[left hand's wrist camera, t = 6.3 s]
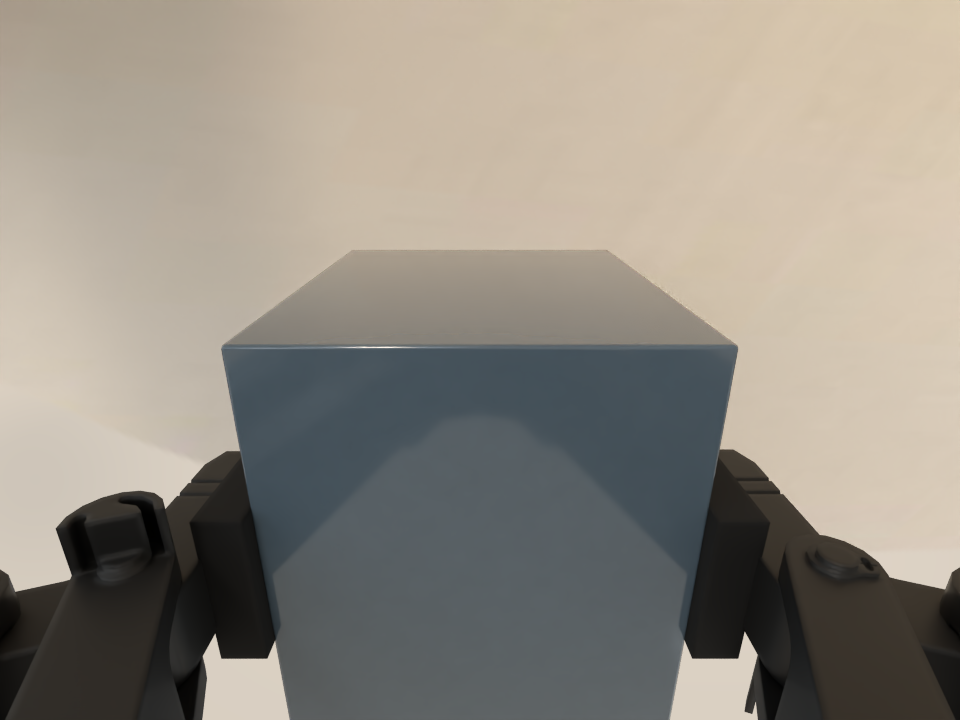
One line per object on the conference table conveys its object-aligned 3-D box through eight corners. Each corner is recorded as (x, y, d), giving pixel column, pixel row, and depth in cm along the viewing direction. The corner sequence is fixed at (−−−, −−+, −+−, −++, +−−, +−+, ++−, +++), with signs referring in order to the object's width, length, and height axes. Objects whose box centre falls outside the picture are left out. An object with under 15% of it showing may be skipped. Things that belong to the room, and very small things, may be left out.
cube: (608, 249, 14) (741, 345, 7) (587, 496, 17) (666, 745, 10) (351, 250, 14) (218, 345, 7) (372, 496, 17) (293, 746, 10)
